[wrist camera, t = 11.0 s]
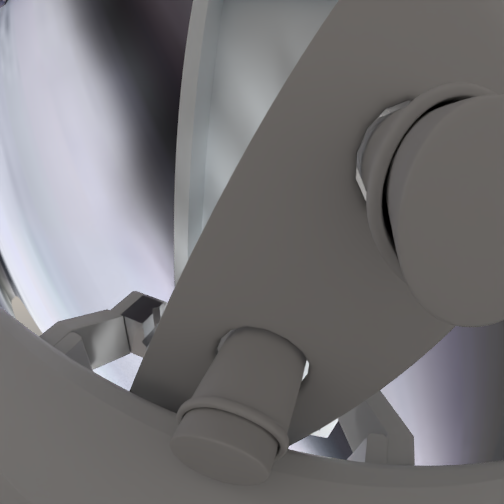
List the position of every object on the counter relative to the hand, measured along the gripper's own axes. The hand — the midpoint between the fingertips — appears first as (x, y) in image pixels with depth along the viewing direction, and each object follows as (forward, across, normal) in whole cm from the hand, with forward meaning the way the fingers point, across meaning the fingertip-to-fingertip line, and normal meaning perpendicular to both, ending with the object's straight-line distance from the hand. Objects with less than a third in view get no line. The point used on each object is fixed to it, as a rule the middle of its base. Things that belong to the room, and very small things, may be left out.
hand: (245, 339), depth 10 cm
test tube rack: (+7, 0, -1) cm, 7 cm away
